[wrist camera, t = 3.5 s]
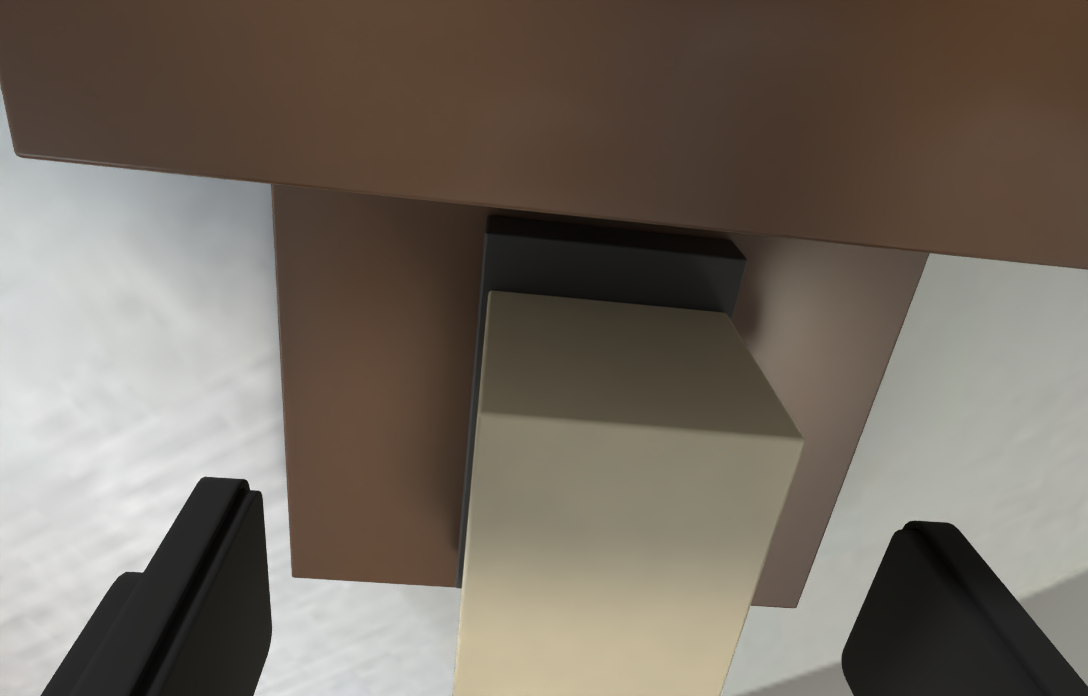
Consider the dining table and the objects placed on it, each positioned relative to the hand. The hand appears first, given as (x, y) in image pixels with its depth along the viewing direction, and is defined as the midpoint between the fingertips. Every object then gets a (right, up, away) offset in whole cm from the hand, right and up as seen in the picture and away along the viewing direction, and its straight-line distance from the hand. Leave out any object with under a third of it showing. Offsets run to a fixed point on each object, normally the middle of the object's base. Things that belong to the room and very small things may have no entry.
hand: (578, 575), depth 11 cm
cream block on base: (0, +2, +4) cm, 5 cm away
